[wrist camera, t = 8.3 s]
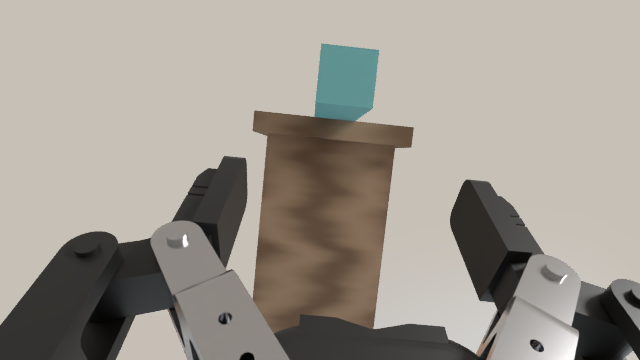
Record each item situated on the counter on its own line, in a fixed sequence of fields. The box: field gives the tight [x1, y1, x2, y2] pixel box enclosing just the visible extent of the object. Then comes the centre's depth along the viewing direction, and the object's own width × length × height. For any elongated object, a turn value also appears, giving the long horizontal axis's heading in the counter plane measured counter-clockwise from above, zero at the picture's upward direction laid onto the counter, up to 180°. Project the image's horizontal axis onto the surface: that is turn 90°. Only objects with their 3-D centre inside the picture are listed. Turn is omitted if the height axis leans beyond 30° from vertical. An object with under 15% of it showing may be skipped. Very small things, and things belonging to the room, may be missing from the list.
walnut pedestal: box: [253, 111, 413, 333], centre depth 34 cm, size 16×16×32 cm
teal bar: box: [315, 44, 379, 121], centre depth 30 cm, size 3×24×3 cm, turn 1°
